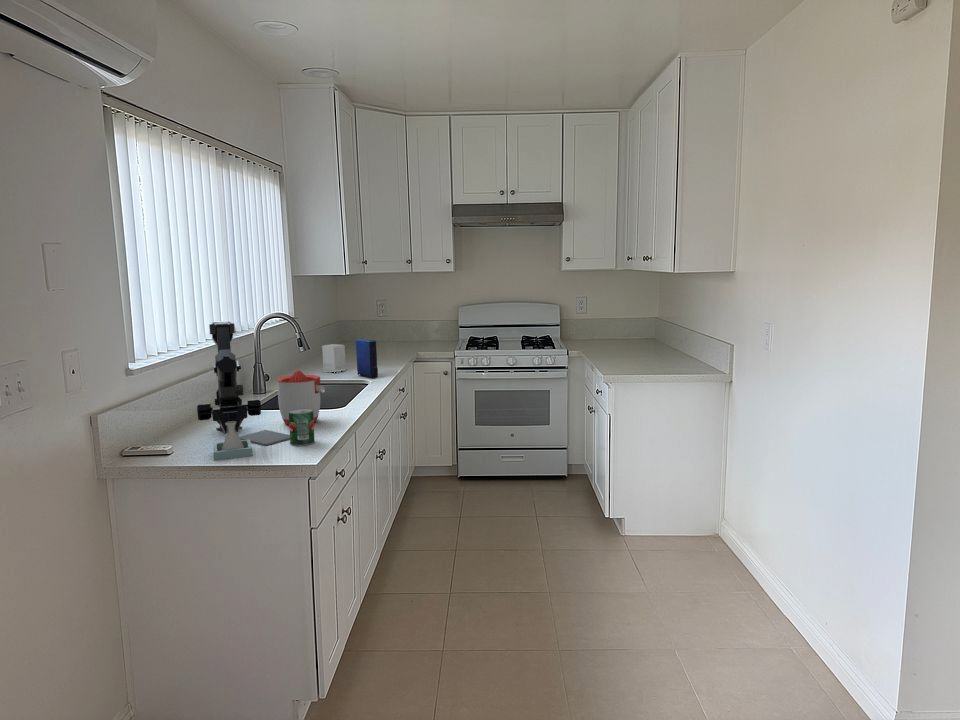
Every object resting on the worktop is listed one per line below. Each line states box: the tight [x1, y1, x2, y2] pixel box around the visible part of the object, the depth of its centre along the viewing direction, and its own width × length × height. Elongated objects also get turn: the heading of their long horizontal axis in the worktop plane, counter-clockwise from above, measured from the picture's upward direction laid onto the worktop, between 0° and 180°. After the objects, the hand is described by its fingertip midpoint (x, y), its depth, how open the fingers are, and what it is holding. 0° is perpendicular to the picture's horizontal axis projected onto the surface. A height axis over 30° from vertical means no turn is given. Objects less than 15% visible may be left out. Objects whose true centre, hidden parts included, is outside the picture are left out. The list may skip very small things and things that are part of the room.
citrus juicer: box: [276, 369, 326, 426], centre depth 239 cm, size 16×17×20 cm
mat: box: [238, 429, 290, 447], centre depth 219 cm, size 16×12×1 cm
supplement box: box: [321, 343, 347, 374], centre depth 356 cm, size 9×9×15 cm
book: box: [355, 338, 379, 379], centre depth 337 cm, size 14×5×20 cm, turn 43°
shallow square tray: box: [212, 439, 254, 461], centre depth 201 cm, size 11×11×2 cm
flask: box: [221, 421, 244, 451], centre depth 201 cm, size 7×7×10 cm
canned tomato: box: [288, 408, 316, 447], centre depth 212 cm, size 8×8×11 cm
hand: (231, 432), depth 199 cm, fingers closed on flask, 3 cm apart
